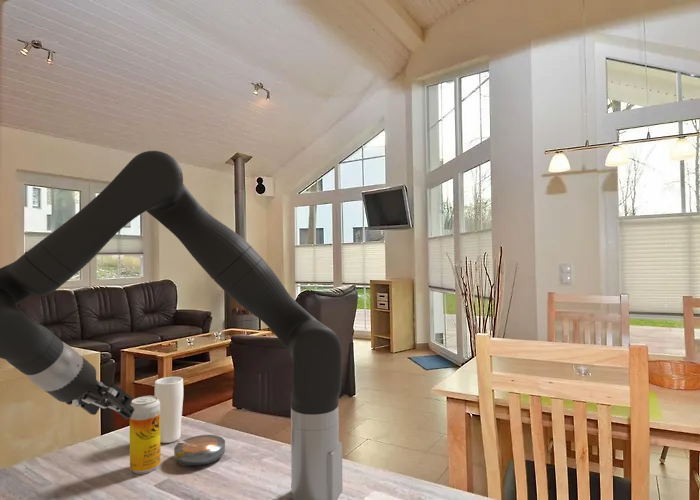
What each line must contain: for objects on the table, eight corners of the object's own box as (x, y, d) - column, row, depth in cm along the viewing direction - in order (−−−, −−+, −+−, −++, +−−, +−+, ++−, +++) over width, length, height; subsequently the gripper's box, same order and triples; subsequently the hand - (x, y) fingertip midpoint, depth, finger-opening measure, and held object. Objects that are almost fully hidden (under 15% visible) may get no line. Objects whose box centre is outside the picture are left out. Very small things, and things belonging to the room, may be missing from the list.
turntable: (234, 446, 103) (234, 437, 103) (206, 468, 92) (206, 458, 92) (194, 440, 106) (194, 432, 106) (163, 461, 96) (163, 452, 96)
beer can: (148, 476, 91) (148, 405, 91) (123, 473, 93) (123, 403, 93) (166, 462, 97) (165, 395, 97) (142, 460, 98) (142, 394, 99)
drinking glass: (189, 437, 110) (189, 378, 110) (165, 447, 105) (165, 385, 105) (172, 431, 114) (172, 374, 114) (149, 441, 108) (148, 381, 108)
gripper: (105, 354, 76) (152, 397, 87) (44, 349, 80) (96, 392, 91) (79, 393, 71) (132, 434, 82) (15, 386, 75) (74, 427, 86)
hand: (113, 412), depth 87 cm, fingers open, 8 cm apart
